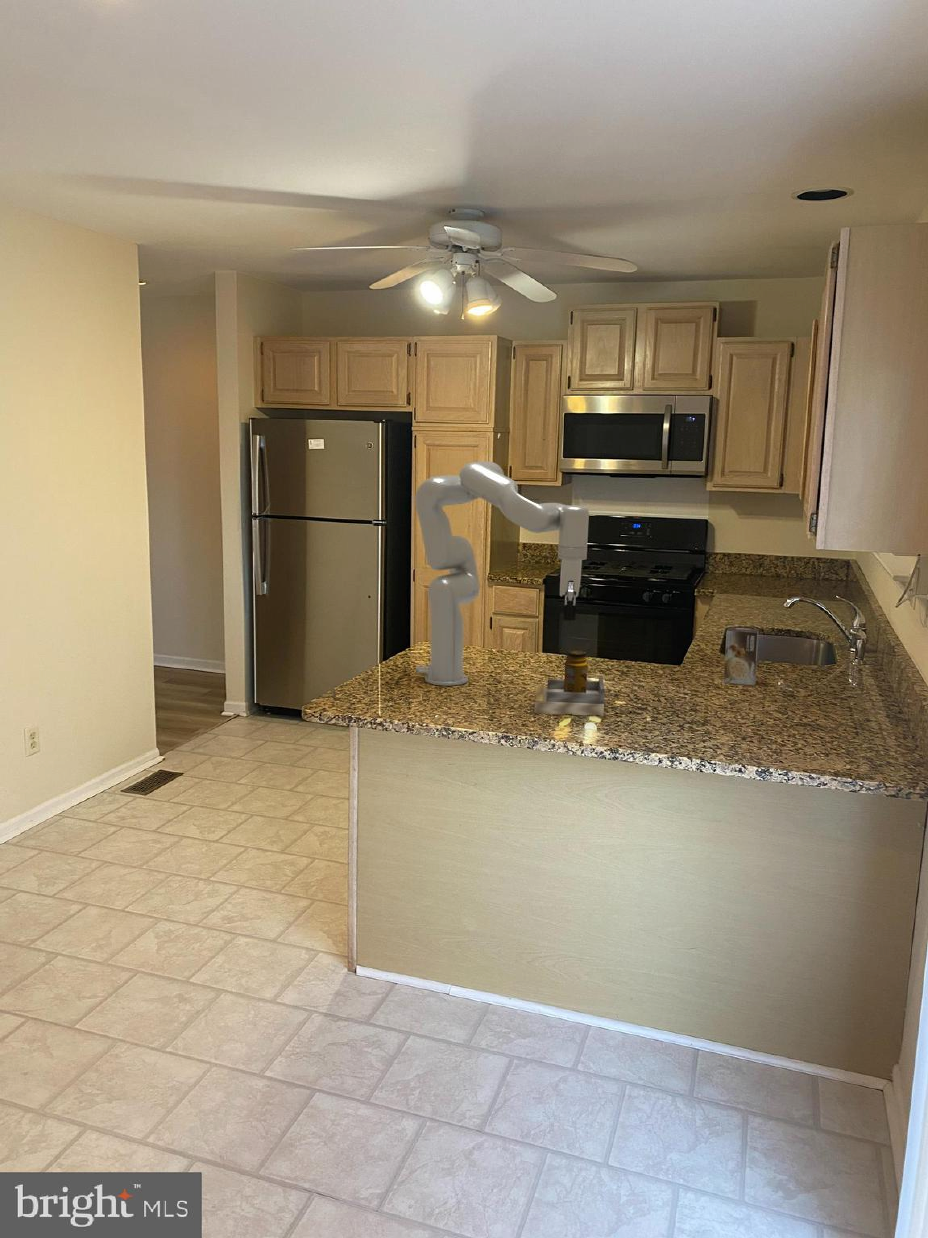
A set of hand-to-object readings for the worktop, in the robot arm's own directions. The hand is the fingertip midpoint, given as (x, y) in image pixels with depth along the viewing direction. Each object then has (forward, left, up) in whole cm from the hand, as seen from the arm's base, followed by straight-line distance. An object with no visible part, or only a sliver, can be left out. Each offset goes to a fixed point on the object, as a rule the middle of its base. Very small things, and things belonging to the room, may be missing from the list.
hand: (569, 616), depth 248 cm
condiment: (+2, -2, -22) cm, 22 cm away
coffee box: (+52, +32, -25) cm, 66 cm away
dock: (+1, -2, -24) cm, 24 cm away
